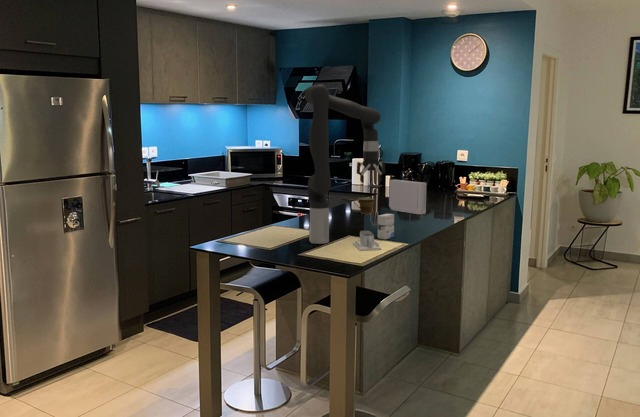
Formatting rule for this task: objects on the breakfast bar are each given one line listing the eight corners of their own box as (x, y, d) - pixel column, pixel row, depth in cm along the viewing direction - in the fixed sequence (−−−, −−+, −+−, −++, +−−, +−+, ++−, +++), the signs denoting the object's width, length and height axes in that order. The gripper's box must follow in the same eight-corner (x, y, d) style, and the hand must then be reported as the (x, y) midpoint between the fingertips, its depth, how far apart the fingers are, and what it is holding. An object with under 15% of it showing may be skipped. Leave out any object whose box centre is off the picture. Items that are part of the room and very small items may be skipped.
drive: (364, 247, 263) (364, 234, 262) (359, 243, 272) (359, 230, 271) (373, 246, 264) (374, 234, 263) (369, 242, 272) (369, 230, 271)
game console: (419, 214, 361) (420, 183, 358) (388, 209, 382) (389, 180, 379) (425, 213, 364) (426, 182, 361) (394, 208, 385) (395, 179, 382)
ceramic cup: (373, 212, 368) (373, 197, 367) (375, 215, 358) (375, 199, 357) (353, 213, 368) (353, 197, 366) (354, 215, 358) (354, 199, 356)
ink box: (386, 235, 295) (386, 213, 293) (394, 236, 291) (394, 214, 290) (377, 238, 288) (377, 215, 286) (385, 239, 285) (385, 216, 283)
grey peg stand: (359, 250, 260) (360, 237, 259) (353, 244, 274) (353, 232, 273) (381, 249, 262) (381, 237, 261) (373, 243, 275) (373, 231, 274)
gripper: (358, 150, 280) (358, 183, 283) (386, 150, 282) (386, 182, 285) (355, 150, 288) (355, 182, 290) (382, 149, 290) (382, 181, 292)
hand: (370, 182), depth 288 cm, fingers open, 8 cm apart
